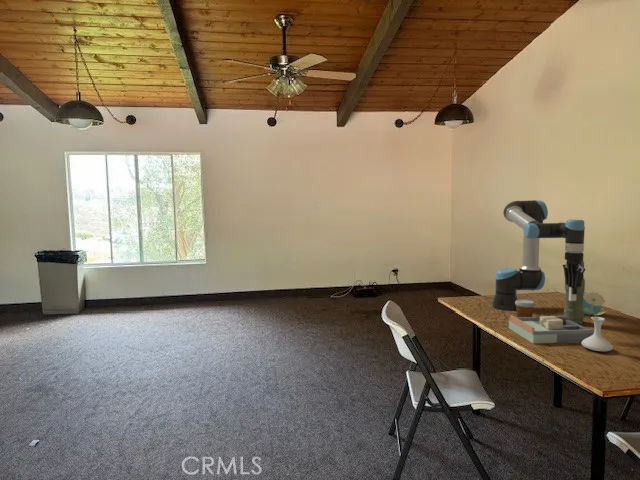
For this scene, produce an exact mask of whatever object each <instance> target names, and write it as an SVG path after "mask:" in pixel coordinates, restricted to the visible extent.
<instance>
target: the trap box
mask: <svg viewBox="0 0 640 480" xmlns="http://www.w3.org/2000/svg"><path fill="white" fill-rule="evenodd" d="M540 317H541V316H532V317H517V316H514V315H513V314H512V315H509V317H508V329H510V330H511V331H512V332H515V334H518V336H521V337H522V338H524V339H525V340H527V341H528V342H530V343H532V344H555V343H556V344H557V343H559V344H561V343H581V342H582V341H583V340H584V339H586V338H588V337H590V336H592V335H593V334H594V330H595V328H588V327H585V326H583V325H582V324H581V325H579V324H577V323H575V322H572V321H570V320H568V316H564V315H558V316H557V315H555V317H557V318H559V319H561V320H563V329H547V328H545V327H544V326H542V325H540Z"/></svg>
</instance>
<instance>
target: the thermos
mask: <svg viewBox="0 0 640 480" xmlns="http://www.w3.org/2000/svg"><path fill="white" fill-rule="evenodd" d="M581 267H582V268H585V261H584V259H583V260H582V261H581ZM584 277H585V275H584V274H583V278H582V283H581V287H578V288H577V294H576V301H570V300H569V286H568V285H566V283H565V282H564V290H565V298H564V300H565V302H564V304H565V305H564V308H563V316H568V320H570V321H572V322H575V323H577V324H579V325H581V326H582V325H583V324H584V320H585V319H584V318H585V314H584V311H583V292H586V291H585V288H586V284H585V283H586V280H585V278H584Z"/></svg>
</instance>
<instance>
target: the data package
mask: <svg viewBox="0 0 640 480" xmlns="http://www.w3.org/2000/svg"><path fill="white" fill-rule="evenodd" d="M586 292H587V291H584V292H583V296H584V295H585V293H586ZM593 292H594V293H596V292H595V291H593ZM585 308H588V309H590V310H593V312H594V313H595V315H596V314H598V313H600V312H602V311H601V310H602V309H601V308H602V305H600V306H594V305H593V307H592V304H589V303H587V302H586V300H584V298H583V310H584V309H585ZM591 308H592V309H591ZM593 312H591V313H587V312H585V311H584V315H591V316H592V315H593V316H595V315H594V314H593ZM596 316H597V315H596Z"/></svg>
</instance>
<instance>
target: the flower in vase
mask: <svg viewBox="0 0 640 480" xmlns="http://www.w3.org/2000/svg"><path fill="white" fill-rule="evenodd" d="M585 292H586V293H585V295H584V296H583V298H584V300H586V302H587V303H589V304H592V307H593V305H594V306H600V305H601V306H604V304H605V303H606V301H605V298H604V296H602V294H600V293H598V292H595V291H585ZM594 292H595V293H594ZM591 309H592V308H591ZM583 311H585V312H587V313H591V312H593V310H590V309H588V308H585V309H584V310H583ZM605 313H606V311H601V312H600V313H598V314H596V315H595V313H594V312H593V314H594V315H593V316H592V317H591V316H590V318H591V319H592V322H593V324H594V325H593V326H594V327H593V328H594V329H595V330H594V334H593V335H592V336H590V337H588V338H586V339H584V340H583V341H582V342H580V343H581V345H582V347H583V348H586V349H588V350H591V351H596V352H610V351H612V350H613V349H614V346H613V345H612V343H610V342H609V341H608V340H607V339H606V338H605V337H603V335H602V331H601V329H602V325H603V323H604V322H605V320H606V318H604V317H601V315H604V314H605Z"/></svg>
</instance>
